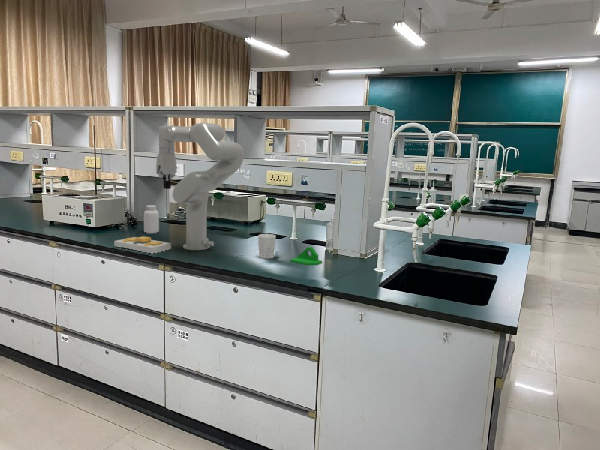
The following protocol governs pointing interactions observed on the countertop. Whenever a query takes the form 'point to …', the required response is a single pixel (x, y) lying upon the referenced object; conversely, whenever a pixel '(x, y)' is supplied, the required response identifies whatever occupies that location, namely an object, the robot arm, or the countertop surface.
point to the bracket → (307, 257)
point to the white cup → (266, 245)
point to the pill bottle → (151, 219)
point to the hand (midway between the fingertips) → (167, 188)
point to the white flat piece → (143, 246)
